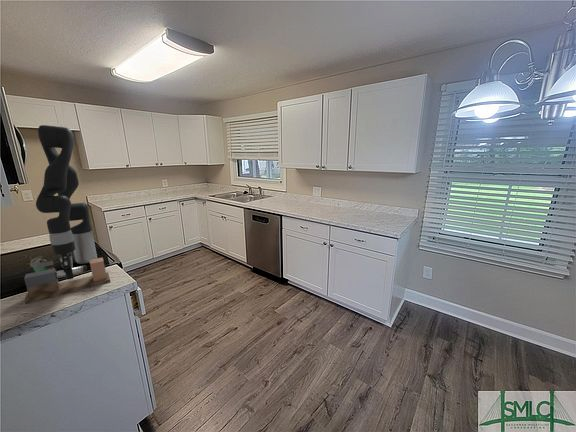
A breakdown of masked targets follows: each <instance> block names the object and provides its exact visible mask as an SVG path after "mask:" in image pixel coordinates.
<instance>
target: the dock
mask: <svg viewBox="0 0 576 432" xmlns="http://www.w3.org/2000/svg"><path fill="white" fill-rule="evenodd" d="M106 276H107V278H106V279H102V280H98V281H93V276H92V275H90V276H86V277H81V278H77V279H71V280H69V281H64V282H61V283H60V282H59V278H56V279H57V281H54V282H50V283H45V284H41V285H37V286H32V287H28V288H27V287H26V290H27V294H26V297H25V300H24V302H25V304H26V305H27V304H30V303H31V304H32V303H34V302H38V301H42V300H46V299H49V298H53V297H57V296H61V295H65V294H69V293H73V292H76V291H80V290H85V289H88V288H91V287H95V286H99V285H103V284H104V285H105V284H107V282H108V283H110V282H111V279H110V275H109V272H108V271H106Z"/></svg>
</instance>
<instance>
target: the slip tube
mask: <svg viewBox="0 0 576 432" xmlns="http://www.w3.org/2000/svg"><path fill="white" fill-rule="evenodd" d="M72 269H73V270H72V272H73V276H74V275H78V274H81V273H82V274H83V273H85V272H88V267H87V264H86V265H85V264H84V265H80V266H76V267H75V266H74V267H72ZM55 275H56V278H58V279H60V278H65V277H66V272H64V269H62V270H61V269H60V270H56V272H55Z"/></svg>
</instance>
